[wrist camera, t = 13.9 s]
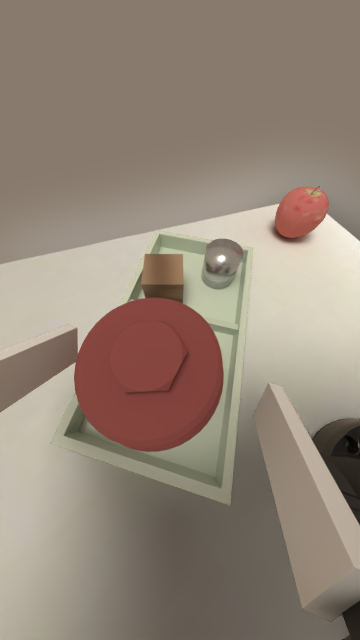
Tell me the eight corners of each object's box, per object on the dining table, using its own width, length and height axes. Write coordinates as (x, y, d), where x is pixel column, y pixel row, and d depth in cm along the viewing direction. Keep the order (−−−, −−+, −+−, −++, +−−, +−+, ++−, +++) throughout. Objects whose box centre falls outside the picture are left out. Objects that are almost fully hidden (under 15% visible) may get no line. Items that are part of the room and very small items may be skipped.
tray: (246, 262, 29) (253, 247, 26) (221, 487, 16) (230, 505, 13) (158, 245, 31) (156, 230, 28) (70, 437, 18) (50, 443, 15)
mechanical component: (107, 367, 20) (177, 327, 23) (146, 454, 16) (224, 394, 19) (22, 325, 9) (176, 255, 12) (81, 560, 5) (289, 383, 8)
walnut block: (182, 279, 26) (183, 254, 22) (182, 306, 24) (183, 284, 20) (150, 279, 26) (144, 253, 22) (148, 306, 24) (141, 284, 20)
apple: (303, 223, 34) (336, 175, 27) (309, 248, 31) (349, 202, 24) (265, 219, 34) (289, 171, 27) (268, 243, 31) (295, 196, 24)
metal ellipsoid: (234, 268, 27) (245, 242, 23) (230, 292, 25) (241, 268, 21) (204, 262, 28) (209, 235, 24) (198, 285, 26) (202, 261, 21)
